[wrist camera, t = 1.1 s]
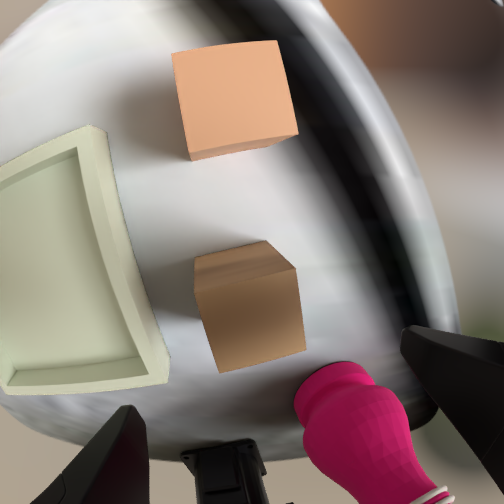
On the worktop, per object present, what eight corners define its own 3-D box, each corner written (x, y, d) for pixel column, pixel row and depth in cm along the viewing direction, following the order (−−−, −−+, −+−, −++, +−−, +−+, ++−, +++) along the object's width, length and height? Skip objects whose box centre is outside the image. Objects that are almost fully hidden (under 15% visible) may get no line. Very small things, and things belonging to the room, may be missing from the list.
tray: (170, 356, 16) (167, 382, 14) (19, 375, 15) (6, 394, 12) (106, 132, 13) (89, 124, 10) (-44, 207, 11) (-67, 212, 8)
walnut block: (277, 304, 17) (306, 350, 12) (212, 320, 16) (219, 373, 12) (266, 240, 16) (295, 268, 11) (194, 257, 15) (193, 293, 11)
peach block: (266, 146, 15) (298, 134, 10) (192, 161, 14) (188, 153, 9) (252, 78, 13) (276, 40, 9) (178, 91, 13) (171, 53, 8)
